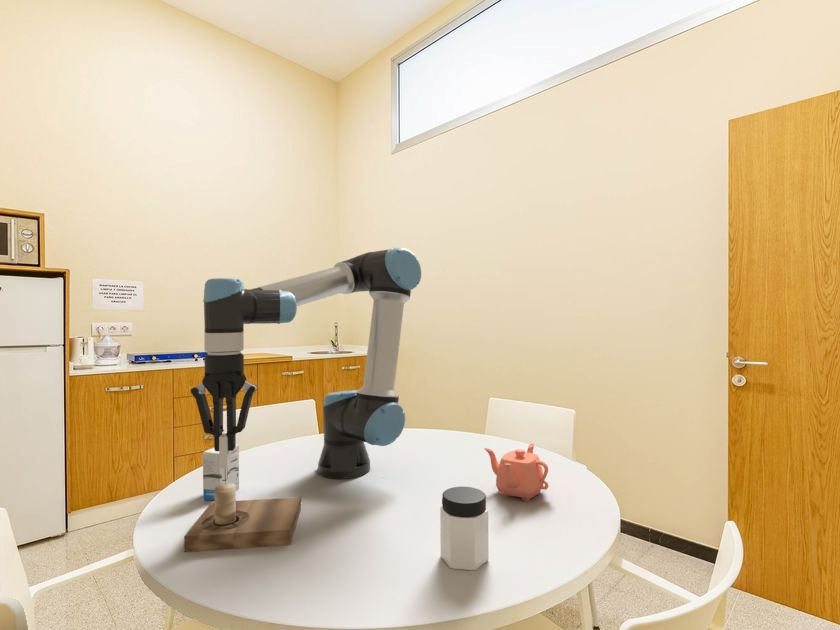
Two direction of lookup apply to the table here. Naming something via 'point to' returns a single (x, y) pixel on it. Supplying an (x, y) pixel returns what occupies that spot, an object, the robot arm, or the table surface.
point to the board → (246, 526)
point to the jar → (464, 528)
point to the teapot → (519, 473)
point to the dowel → (225, 504)
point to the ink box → (218, 472)
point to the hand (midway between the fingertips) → (225, 466)
